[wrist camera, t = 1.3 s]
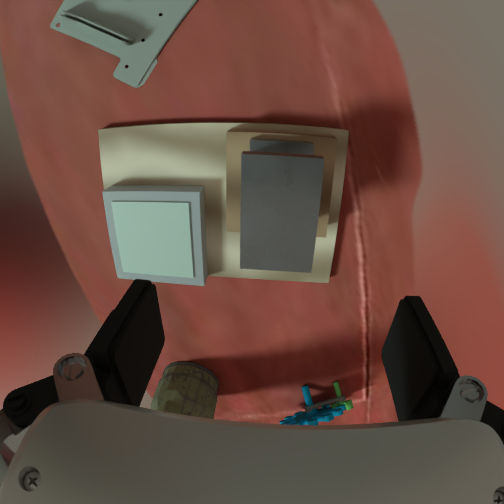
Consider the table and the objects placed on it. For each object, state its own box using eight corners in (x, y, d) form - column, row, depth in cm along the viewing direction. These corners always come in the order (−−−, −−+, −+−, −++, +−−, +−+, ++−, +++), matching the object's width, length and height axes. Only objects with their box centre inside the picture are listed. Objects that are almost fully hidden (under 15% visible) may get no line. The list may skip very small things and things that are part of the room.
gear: (283, 422, 46) (278, 439, 37) (275, 390, 48) (267, 399, 39) (349, 404, 45) (358, 417, 36) (340, 371, 47) (348, 377, 38)
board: (103, 128, 28) (98, 129, 27) (346, 129, 27) (349, 130, 26) (120, 263, 36) (117, 268, 35) (327, 277, 34) (328, 282, 33)
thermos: (235, 396, 46) (203, 610, 15) (167, 395, 48) (112, 585, 17) (221, 359, 42) (171, 613, 11) (146, 360, 44) (69, 575, 13)
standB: (111, 185, 30) (101, 192, 28) (204, 185, 29) (198, 192, 28) (124, 268, 35) (117, 278, 33) (207, 275, 34) (203, 287, 32)
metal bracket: (26, 43, 19) (111, -85, 12) (50, 40, 23) (123, -69, 17) (144, 96, 25) (239, -32, 19) (153, 88, 30) (232, -21, 23)
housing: (250, 138, 25) (241, 154, 18) (312, 141, 24) (324, 159, 18) (248, 227, 28) (239, 268, 22) (304, 230, 28) (311, 272, 22)
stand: (230, 128, 27) (226, 131, 24) (332, 134, 26) (337, 138, 24) (230, 220, 31) (226, 231, 29) (322, 226, 30) (325, 237, 28)
